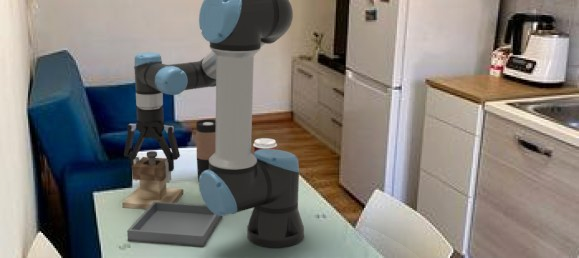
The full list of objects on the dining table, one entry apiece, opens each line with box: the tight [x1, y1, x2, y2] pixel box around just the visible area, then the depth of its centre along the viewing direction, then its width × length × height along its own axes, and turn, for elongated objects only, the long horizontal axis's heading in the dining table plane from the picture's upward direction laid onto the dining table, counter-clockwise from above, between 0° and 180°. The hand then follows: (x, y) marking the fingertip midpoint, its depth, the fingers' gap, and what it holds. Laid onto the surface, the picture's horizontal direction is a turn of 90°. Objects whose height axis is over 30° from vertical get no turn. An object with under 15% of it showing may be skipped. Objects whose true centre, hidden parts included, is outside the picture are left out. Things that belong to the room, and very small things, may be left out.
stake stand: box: [121, 150, 184, 210], centre depth 189 cm, size 14×14×15 cm
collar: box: [131, 156, 173, 181], centre depth 189 cm, size 9×9×4 cm
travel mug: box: [195, 118, 216, 183], centre depth 205 cm, size 8×8×20 cm
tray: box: [126, 202, 223, 248], centre depth 172 cm, size 20×20×3 cm
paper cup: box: [252, 137, 278, 152], centre depth 207 cm, size 8×8×14 cm
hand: (152, 180), depth 190 cm, fingers closed on collar, 9 cm apart
